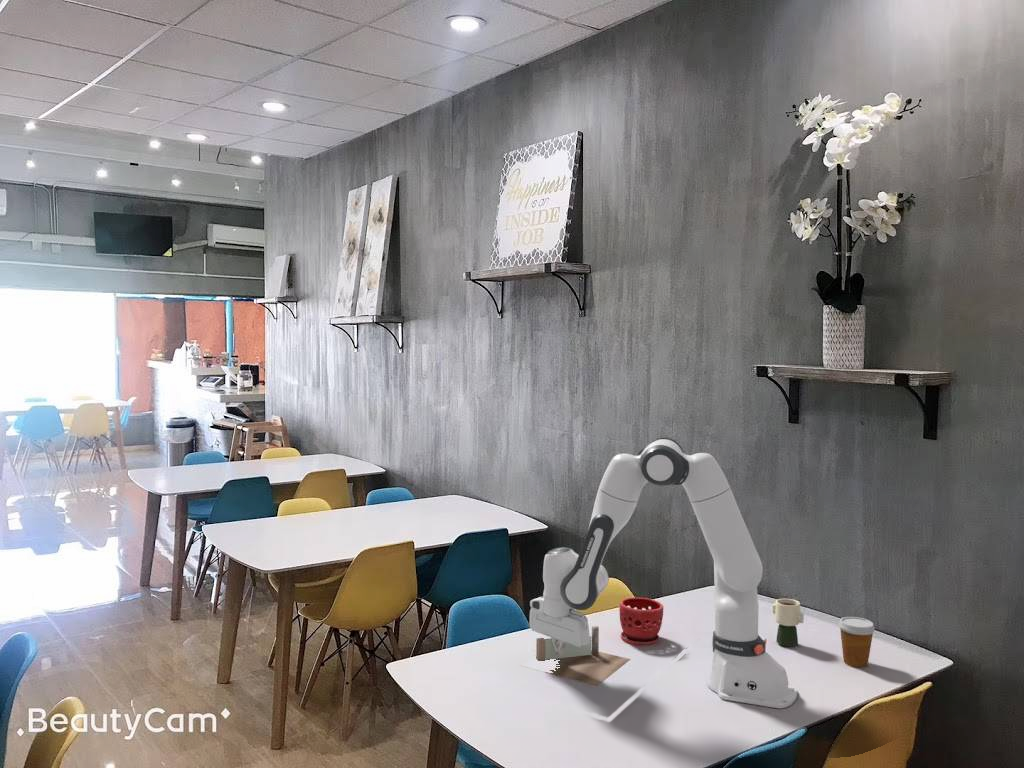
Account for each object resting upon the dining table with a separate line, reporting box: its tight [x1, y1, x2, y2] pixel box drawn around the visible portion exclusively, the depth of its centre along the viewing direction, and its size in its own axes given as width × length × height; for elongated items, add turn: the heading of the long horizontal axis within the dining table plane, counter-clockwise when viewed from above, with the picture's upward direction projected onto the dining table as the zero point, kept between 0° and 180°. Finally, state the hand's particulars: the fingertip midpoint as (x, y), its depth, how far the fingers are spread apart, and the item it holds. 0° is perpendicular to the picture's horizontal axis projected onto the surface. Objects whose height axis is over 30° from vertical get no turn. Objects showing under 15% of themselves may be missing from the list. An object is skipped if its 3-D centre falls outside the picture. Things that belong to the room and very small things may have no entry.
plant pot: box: [619, 597, 664, 647], centre depth 244 cm, size 13×13×12 cm
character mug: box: [772, 598, 805, 647], centre depth 242 cm, size 11×7×13 cm, turn 34°
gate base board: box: [545, 625, 631, 687], centre depth 226 cm, size 24×21×9 cm
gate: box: [535, 634, 592, 661], centre depth 229 cm, size 2×16×6 cm, turn 107°
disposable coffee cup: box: [838, 616, 876, 669], centre depth 228 cm, size 10×10×12 cm
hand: (559, 653), depth 226 cm, fingers closed
